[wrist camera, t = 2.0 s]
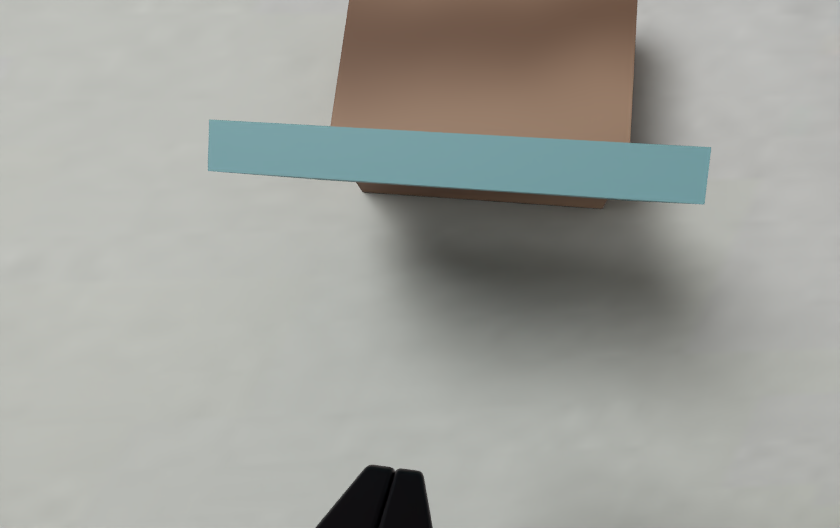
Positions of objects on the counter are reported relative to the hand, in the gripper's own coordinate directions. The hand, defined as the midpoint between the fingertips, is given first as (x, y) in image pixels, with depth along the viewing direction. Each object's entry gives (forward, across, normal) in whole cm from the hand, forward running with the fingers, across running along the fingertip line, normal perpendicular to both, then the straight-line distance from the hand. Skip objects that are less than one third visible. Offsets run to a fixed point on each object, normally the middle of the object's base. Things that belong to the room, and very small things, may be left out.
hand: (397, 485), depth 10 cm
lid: (+8, 0, -2) cm, 9 cm away
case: (+18, 0, +1) cm, 18 cm away
